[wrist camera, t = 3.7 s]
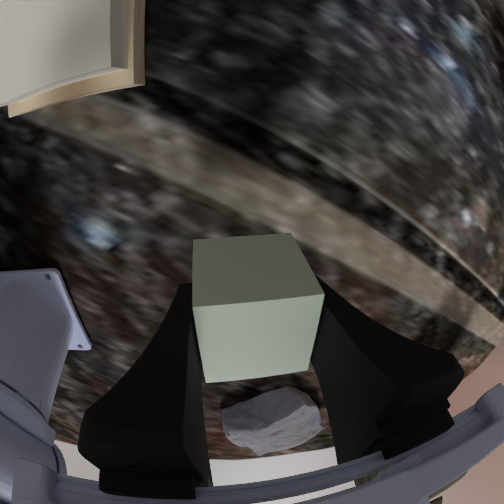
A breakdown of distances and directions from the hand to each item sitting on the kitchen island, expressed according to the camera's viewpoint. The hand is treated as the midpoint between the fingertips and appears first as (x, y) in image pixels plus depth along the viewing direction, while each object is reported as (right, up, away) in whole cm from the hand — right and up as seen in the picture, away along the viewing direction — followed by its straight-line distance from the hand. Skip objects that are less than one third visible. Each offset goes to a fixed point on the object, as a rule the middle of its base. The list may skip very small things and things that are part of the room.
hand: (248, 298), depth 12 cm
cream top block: (-8, +12, -4) cm, 15 cm away
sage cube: (0, +1, +1) cm, 2 cm away
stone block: (+3, -17, +20) cm, 26 cm away
